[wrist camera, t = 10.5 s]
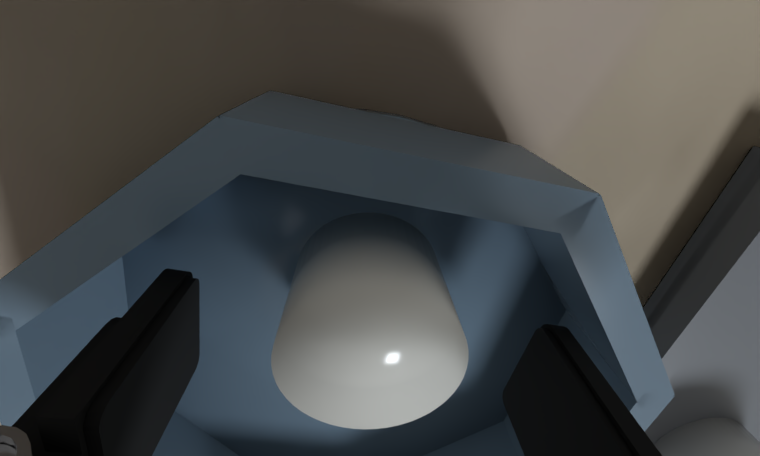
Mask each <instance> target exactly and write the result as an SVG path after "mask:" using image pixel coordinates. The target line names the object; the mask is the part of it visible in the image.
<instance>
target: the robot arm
mask: <svg viewBox="0 0 760 456" xmlns="http://www.w3.org/2000/svg"><path fill="white" fill-rule="evenodd" d="M199 356H200V284H199V279H197V278H193V275H192V273H191V272H189V271H182V270H175V269H169V268H167V269H165V270H163V271H162V272H161V274H160V275H159V276H158V277H157V278H156V279H155V280H154V282H153V283H152V284H151V285H150V286H149V287H148V288H147V289H146V291H145V292H144V293H143V294H142V295H141V296H140V297H139V299H138V300H137V301H136V302H135V303H134V304H133V305H132V307H131V308H130V309H129V310H128V311H127V312H126V313H125V314H124V316H123V317H122V318H120V317H115V318H113V319H111V320H110V321H109V322H107V323H106V324H105V325H104V326H103V327H102V329H101V330H100V331H99V332H98V333H97V334H96V335H95V336H94V337H93V338H92V339H91V340H90V342H89V343H88V344H87V345H86V346H85V347H84V348H83V349H82V350H81V351H80V352H79V354H78V355H77V356H76V357H75V358H74V359H73V360H72V361H71V362H70V363H69V364H68V366H67V367H66V368H65V369H64V370H63V371H62V372H61V373H60V374H59V375H58V376H57V378H56V379H55V380H54V381H53V382H52V383H51V384H50V385H49V386H48V387H47V388H46V390H45V391H44V392H43V393H42V394H41V395H40V396H39V397H38V398H37V399H36V400H35V402H34V403H33V404H32V405H31V406H30V407H29V408H28V409H27V410H26V411H25V412H24V413H23V415H22V416H21V417H20V418H19V419H18V420H17V421H16V422H15V423H14V424H13V425H12V427H11V426H5V425H0V456H152V455H153V453H154V451H155V449H156V447H157V445H158V443H159V441H160V439H161V437H162V435H163V433H164V431H165V429H166V427H167V425H168V423H169V421H170V419H171V417H172V415H173V413H174V411H175V409H176V407H177V406H178V404H179V402H180V400H181V398H182V396H183V394H184V392H185V390H186V388H187V386H188V384H189V382H190V380H191V378H192V376H193V374H194V372H195V370H196V368H197V365H198V362H199ZM503 403H504V406H505V409H506V411H507V414H508V416H509V419H510V421H511V423H512V426H513V428H514V431H515V433H516V436H517V438H518V441H519V443H520V446H521V448H522V451H523V453H524V456H662V455H661V453H660V452H659V451H658V449H657V448H656V447H655V445H654V444H653V442H652V441H651V440H650V438H649V437H648V436H647V434H646V433H645V432H644V430H643V429H642V428H641V426H640V425H639V424H638V422H637V421H636V419H635V418H634V417H633V415H632V414H631V413H630V411H629V410H628V409H627V407H626V406H625V405H624V403H623V402H622V401H621V399H620V398H619V397H618V395H617V394H616V392H615V391H614V390H613V388H612V387H611V386H610V384H609V383H608V382H607V380H606V379H605V378H604V376H603V375H602V374H601V372H600V371H599V369H598V368H597V367H596V365H595V364H594V363H593V361H592V360H591V359H590V357H589V356H588V355H587V353H586V352H585V351H584V349H583V348H582V346H581V345H580V344H579V342H578V341H577V340H576V338H575V337H574V336H573V334H572V333H571V332H570V330H569V329H568V328H567V327H564V326H558V325H551V324H544V325H542V326H541V328H538V329H536V331H535V332H534V334H533V336H532V338H531V340H530V342H529V343H528V345H527V347H526V349H525V351H524V353H523V355H522V356H521V358H520V360H519V362H518V364H517V366H516V368H515V370H514V371H513V373H512V375H511V377H510V379H509V381H508V383H507V385H506V386H505V388H504V391H503Z"/></svg>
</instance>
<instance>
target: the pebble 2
mask: <svg viewBox="0 0 760 456" xmlns="http://www.w3.org/2000/svg"><path fill="white" fill-rule="evenodd" d="M654 445H655V447H656V448H657V449H658V451H659V452H660V453H661V455H662V456H760V442H759V441H758V440H757V439H756V438H755V437H754V436H753V435H752V434H751V433H750V432H749V431H748V430H747V429H746V428H745V427H744V426H743V425H742V424H740V423H739V422H738V421H736V420H733V419H729V418H706V419H701V420H697V421H693V422H690V423H687V424H685V425H682V426H680V427H678V428H676V429H674V430H672V431H670V432H669V433H667V434H665V435H664V436H663V437H661V438H660V439H659V440H658V441H657V442H656V443H655V444H654Z"/></svg>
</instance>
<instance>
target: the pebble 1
mask: <svg viewBox="0 0 760 456" xmlns="http://www.w3.org/2000/svg"><path fill="white" fill-rule="evenodd" d="M468 356H469V350H468V345H467V340H466V337H465V334H464V332H463V329H462V326H461V323H460V321H459V318H458V315H457V312H456V310H455V307H454V304H453V301H452V299H451V296H450V293H449V290H448V288H447V285H446V282H445V279H444V277H443V274H442V271H441V268H440V266H439V263H438V260H437V257H436V255H435V252H434V249H433V248H432V246H431V244H430V242H429V241H428V240H427V238H426V237H425V236H424V235H423V234H422V233H421V232H420V231H419V230H418V229H417V228H415V227H414V226H413V225H411V224H410V223H408V222H406V221H404V220H402V219H400V218H397V217H394V216H391V215H387V214H382V213H355V214H350V215H346V216H343V217H340V218H337V219H335V220H333V221H331V222H329V223H327V224H325V225H324V226H323V227H321V228H320V229H318V230H317V231H316V232H315V233H314V234H313V235H312V236H311V237H310V238H309V240H308V241H307V242H306V244H305V245H304V247H303V249H302V251H301V253H300V256H299V258H298V262H297V265H296V269H295V272H294V276H293V279H292V283H291V286H290V289H289V293H288V296H287V300H286V303H285V307H284V310H283V314H282V317H281V320H280V324H279V327H278V331H277V334H276V338H275V341H274V345H273V349H272V354H271V367H272V373H273V376H274V379H275V382H276V384H277V386H278V388H279V389H280V391H281V392H282V394H283V395H284V396H285V398H286V399H287V400H288V401H289V402H290V403H291V404H292V405H293V406H295V407H296V408H297V409H299V410H300V411H301V412H303V413H305V414H307V415H308V416H310V417H312V418H314V419H317V420H319V421H321V422H324V423H327V424H330V425H334V426H339V427H344V428H351V429H380V428H388V427H393V426H398V425H401V424H405V423H408V422H411V421H413V420H416V419H418V418H421V417H423V416H425V415H427V414H428V413H430V412H432V411H433V410H435V409H436V408H438V407H439V406H440V405H442V404H443V403H444V402H445V401H447V400H448V398H449V397H450V396H451V395H452V394H453V393H454V392H455V391H456V389H457V388H458V387H459V385H460V383H461V381H462V380H463V378H464V375H465V372H466V370H467V365H468Z"/></svg>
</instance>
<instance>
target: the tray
mask: <svg viewBox="0 0 760 456" xmlns="http://www.w3.org/2000/svg"><path fill="white" fill-rule="evenodd" d="M643 311H644V313H645V316H646V319H647V321H648V324H649V327H650V330H651V332H652V335H653V338H654V340H655V343H656V346H657V348H658V351H659V354H660V357H661V359H662V362H663V365H664V367H665V370H666V373H667V376H668V378H669V381H670V384H671V386H672V389H673V392H674V394H675V395H674V398H673V399H672V400H671V401H670V402H669V403H668V405H667V406H666V407H665V408H664V409H663V411H662V412H661V413H660V414H659V415H658V416H657V418H656V419H655V420H654V421H653V422H652V424H651V425H650V426H649V427H648V428H647V430H646V431H645V433H646V434H647V436H648V437H649V438H650V440H651V441H652V442H653V444H655V443H656V442H657V441H658V440H659V439H660V438H661V437H663V436H664V435H665V434H667V433H669V432H670V431H672V430H674V429H676V428H678V427H680V426H682V425H685V424H687V423H690V422H693V421H697V420H701V419H706V418H729V419H733V420H736V421H738V422H739V423H740V424H742V425H743V426H744V427H745V428H746V429H747V430H748V431H749V432H750V433H751V434H752V435H753V436H754V437H755V438H756V439H757V440H758V441H759V442H760V147H756V146H753V148H752V149H751V150H750V152H749V153H748V155H747V156H746V158H745V159H744V161H743V162H742V164H741V165H740V167H739V168H738V170H737V171H736V173H735V174H734V175H733V177H732V178H731V180H730V181H729V183H728V184H727V186H726V187H725V189H724V190H723V192H722V193H721V195H720V196H719V198H718V199H717V200H716V202H715V203H714V205H713V206H712V208H711V209H710V211H709V212H708V214H707V215H706V217H705V218H704V220H703V221H702V222H701V224H700V225H699V227H698V228H697V230H696V231H695V233H694V234H693V236H692V237H691V239H690V240H689V242H688V243H687V245H686V246H685V247H684V249H683V250H682V252H681V253H680V255H679V256H678V258H677V259H676V261H675V262H674V264H673V265H672V267H671V268H670V270H669V271H668V272H667V274H666V275H665V277H664V278H663V280H662V281H661V283H660V284H659V286H658V287H657V289H656V290H655V292H654V293H653V294H652V296H651V297H650V299H649V300H648V302H647V303H646V305H645V306H644V308H643Z"/></svg>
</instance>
